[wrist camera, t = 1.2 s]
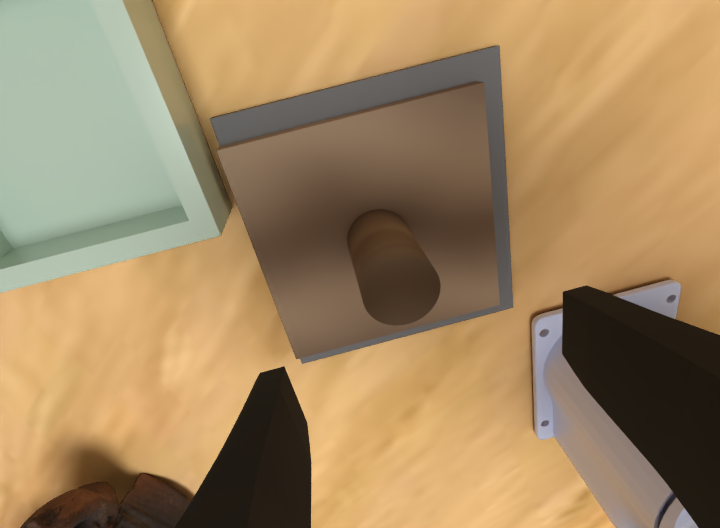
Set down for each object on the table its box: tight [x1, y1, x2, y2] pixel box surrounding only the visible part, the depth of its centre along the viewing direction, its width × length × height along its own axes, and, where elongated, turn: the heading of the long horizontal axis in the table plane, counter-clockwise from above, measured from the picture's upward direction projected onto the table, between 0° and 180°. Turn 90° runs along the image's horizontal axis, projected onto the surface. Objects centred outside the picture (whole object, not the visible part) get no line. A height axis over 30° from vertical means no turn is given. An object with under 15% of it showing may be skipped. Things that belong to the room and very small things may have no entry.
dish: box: [0, 0, 232, 293], centre depth 14 cm, size 9×9×3 cm
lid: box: [217, 81, 500, 359], centre depth 16 cm, size 10×10×5 cm
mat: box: [210, 46, 513, 364], centre depth 18 cm, size 12×11×1 cm
